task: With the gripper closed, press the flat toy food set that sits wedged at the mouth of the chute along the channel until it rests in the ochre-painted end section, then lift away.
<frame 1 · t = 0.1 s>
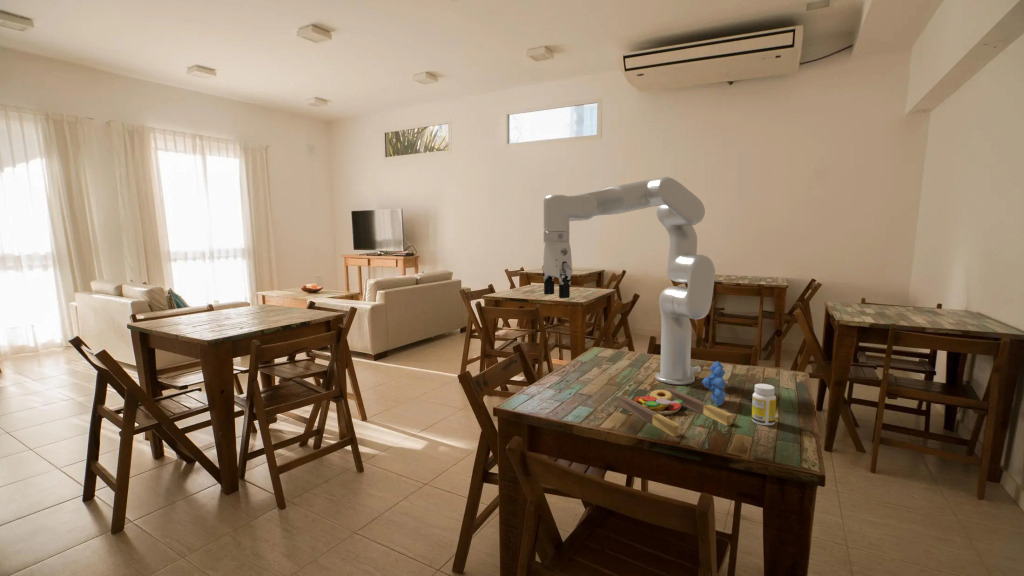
hand: (556, 296, 140), 31 cm above the table, tool pointing down, fingers open, 9 cm apart
supplement bottle: (763, 422, 123), on the table
toy food set: (657, 408, 134), on the table
chute: (671, 413, 129), on the table
grapes: (713, 403, 137), on the table
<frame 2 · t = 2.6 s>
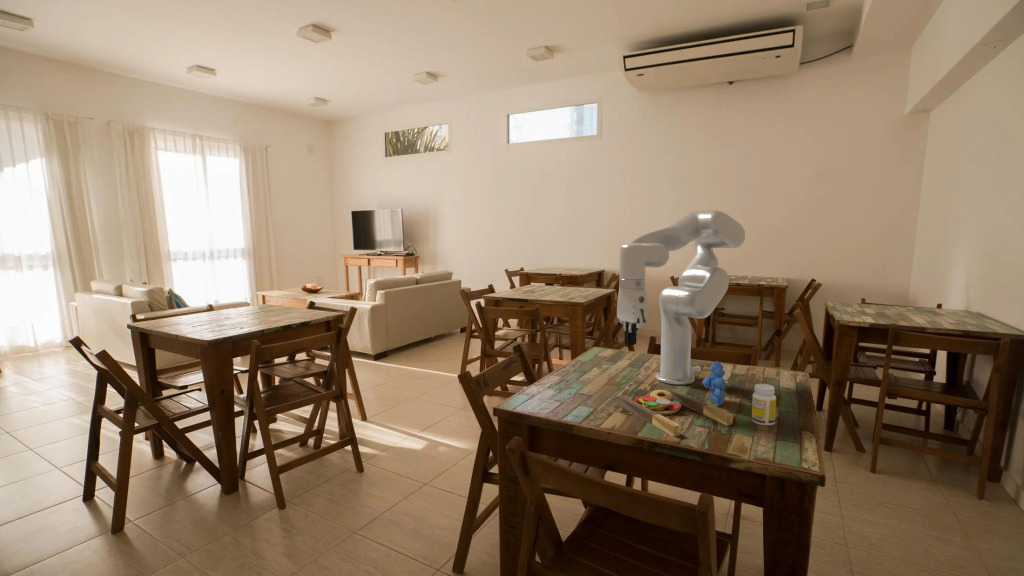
hand: (630, 344, 144), 16 cm above the table, tool pointing down, fingers closed
nothing on the table moved.
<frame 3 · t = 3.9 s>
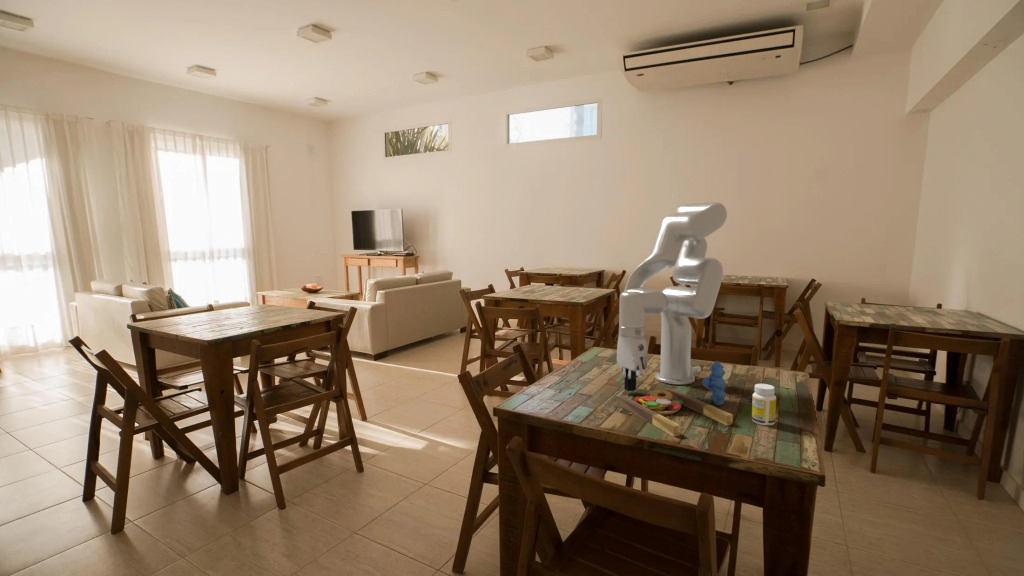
hand: (630, 389, 146), 1 cm above the table, tool pointing down, fingers closed
nothing on the table moved.
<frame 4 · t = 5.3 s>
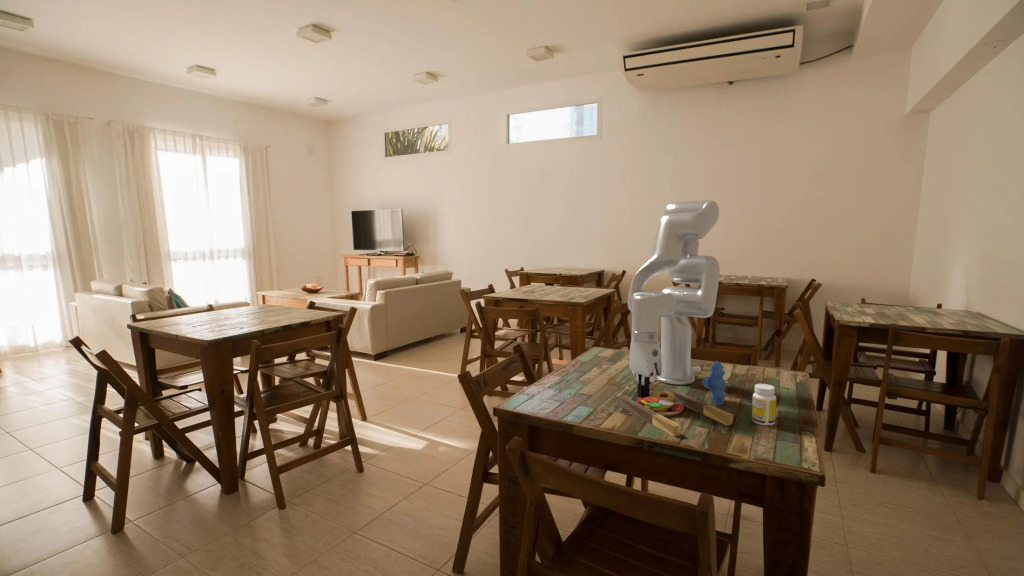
hand: (643, 396, 140), 1 cm above the table, tool pointing down, fingers closed
toy food set: (660, 409, 134), on the table, touching gripper
everything else where it was.
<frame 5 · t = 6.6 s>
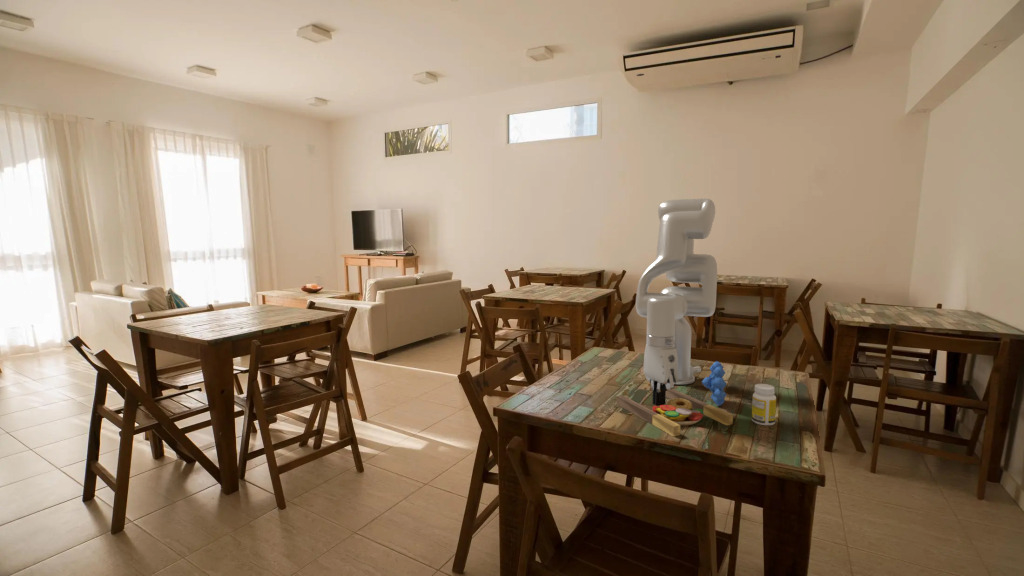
hand: (658, 404, 134), 1 cm above the table, tool pointing down, fingers closed
toy food set: (677, 418, 127), on the table
everything else where it was.
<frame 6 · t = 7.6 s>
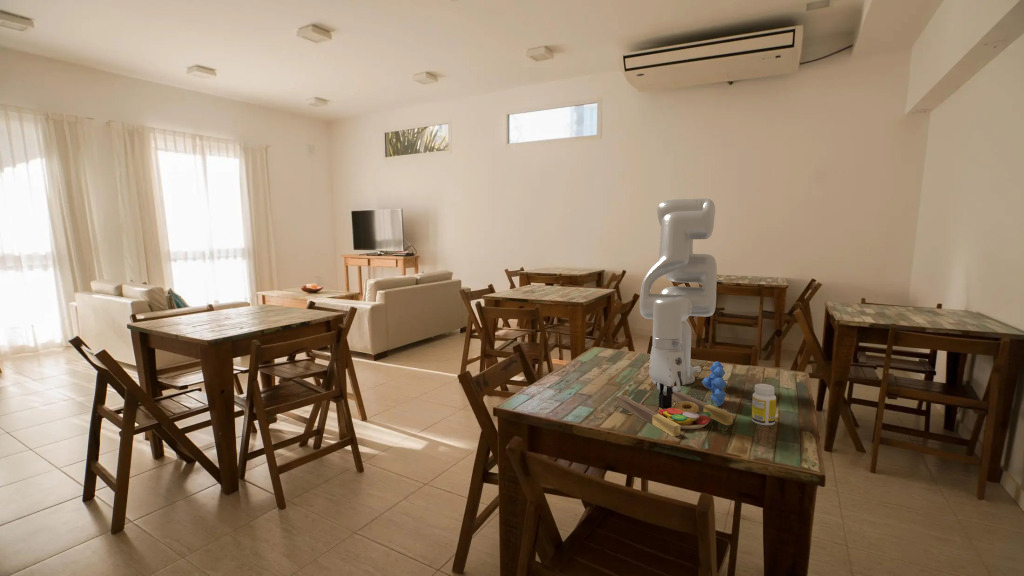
hand: (665, 407, 132), 1 cm above the table, tool pointing down, fingers closed
toy food set: (683, 422, 125), on the table
everything else where it was.
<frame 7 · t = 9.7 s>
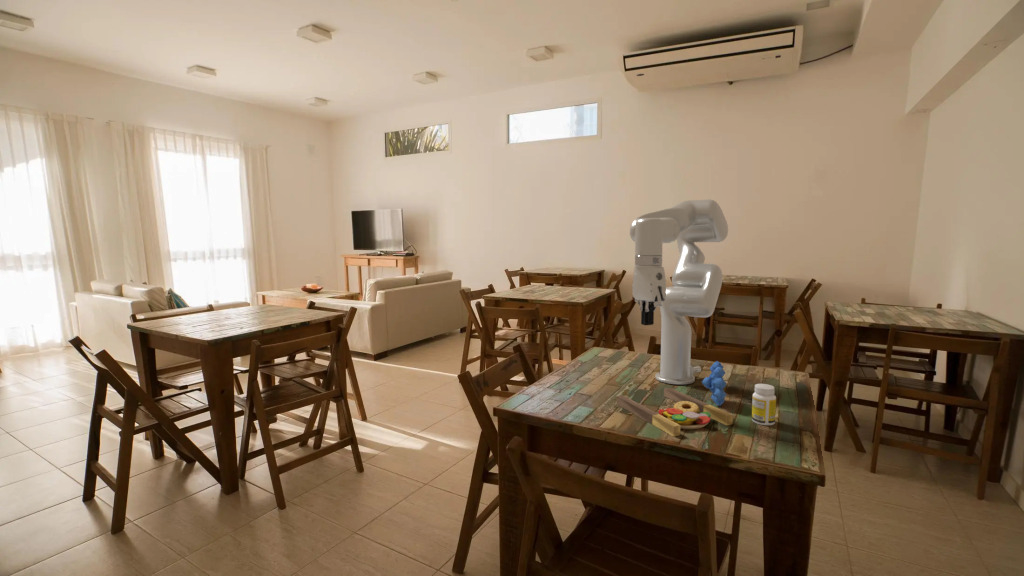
hand: (647, 324, 137), 23 cm above the table, tool pointing down, fingers closed
nothing on the table moved.
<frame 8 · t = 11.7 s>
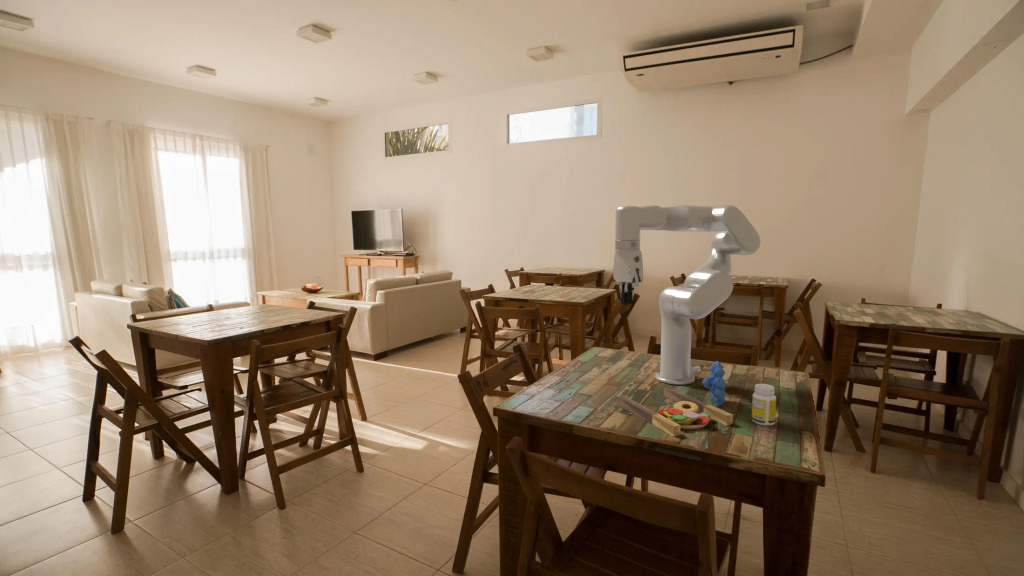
hand: (626, 304, 149), 27 cm above the table, tool pointing down, fingers closed
nothing on the table moved.
at the end: toy food set inside the target area (1.2 cm from its centre), on the table; toy food set moved 10.6 cm from its start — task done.
